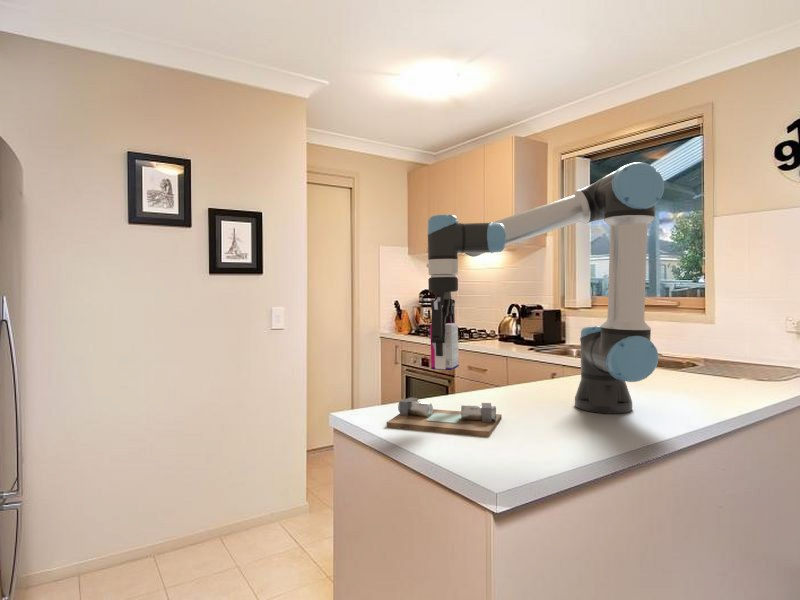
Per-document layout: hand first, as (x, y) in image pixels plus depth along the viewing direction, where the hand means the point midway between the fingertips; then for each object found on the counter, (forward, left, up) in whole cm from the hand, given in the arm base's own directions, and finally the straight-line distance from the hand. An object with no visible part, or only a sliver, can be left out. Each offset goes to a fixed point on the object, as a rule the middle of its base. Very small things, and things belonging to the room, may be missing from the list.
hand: (444, 366), depth 127 cm
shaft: (+8, -1, -13) cm, 16 cm away
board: (0, 0, -15) cm, 15 cm away
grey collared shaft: (-9, -1, -13) cm, 16 cm away
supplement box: (0, 0, -1) cm, 1 cm away
